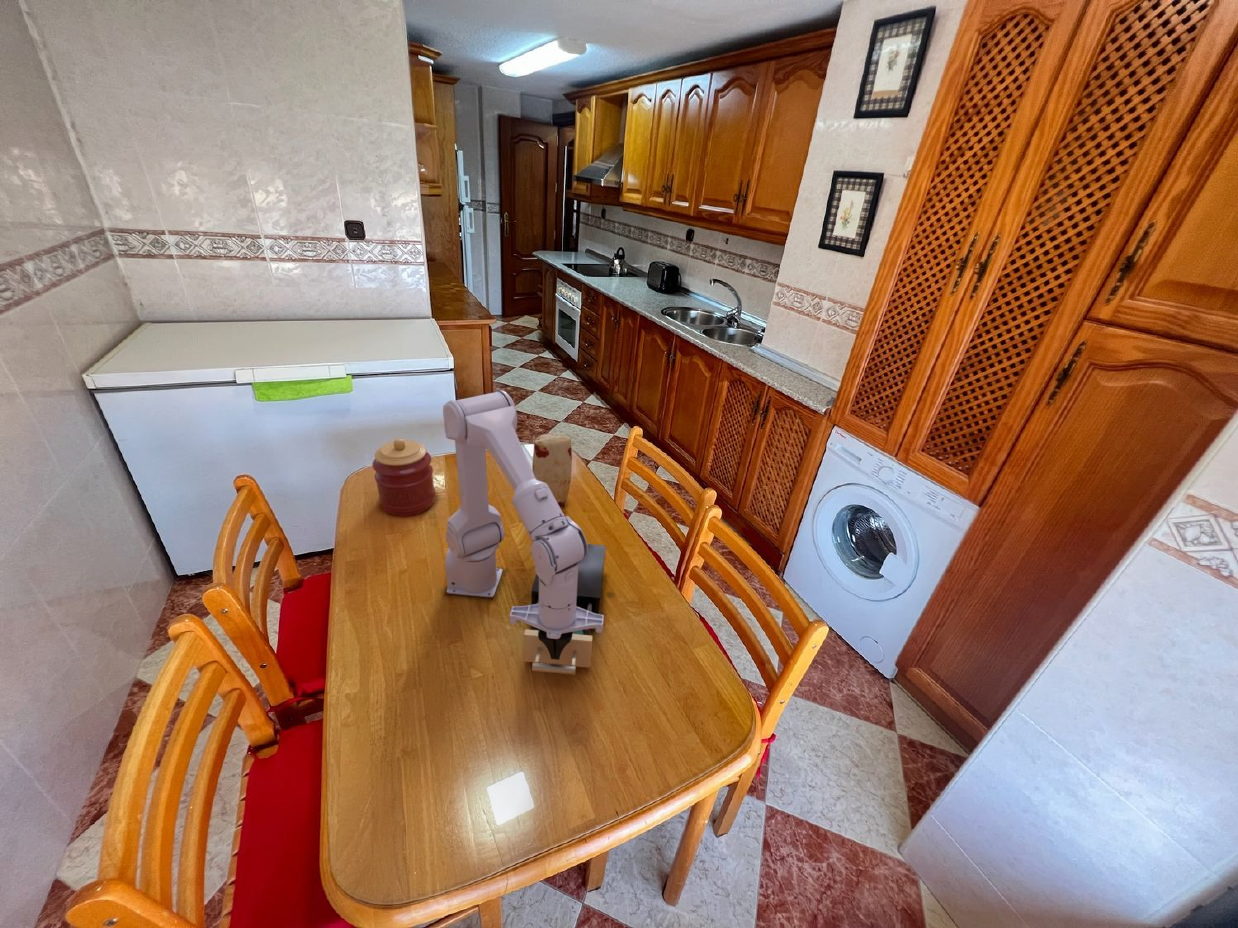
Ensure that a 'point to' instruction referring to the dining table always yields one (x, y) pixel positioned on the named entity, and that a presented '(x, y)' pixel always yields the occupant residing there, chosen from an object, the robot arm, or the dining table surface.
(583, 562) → the black cabinet
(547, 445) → the food model
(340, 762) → the dining table surface
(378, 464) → the kitchen canister
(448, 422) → the robot arm
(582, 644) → the drawer
